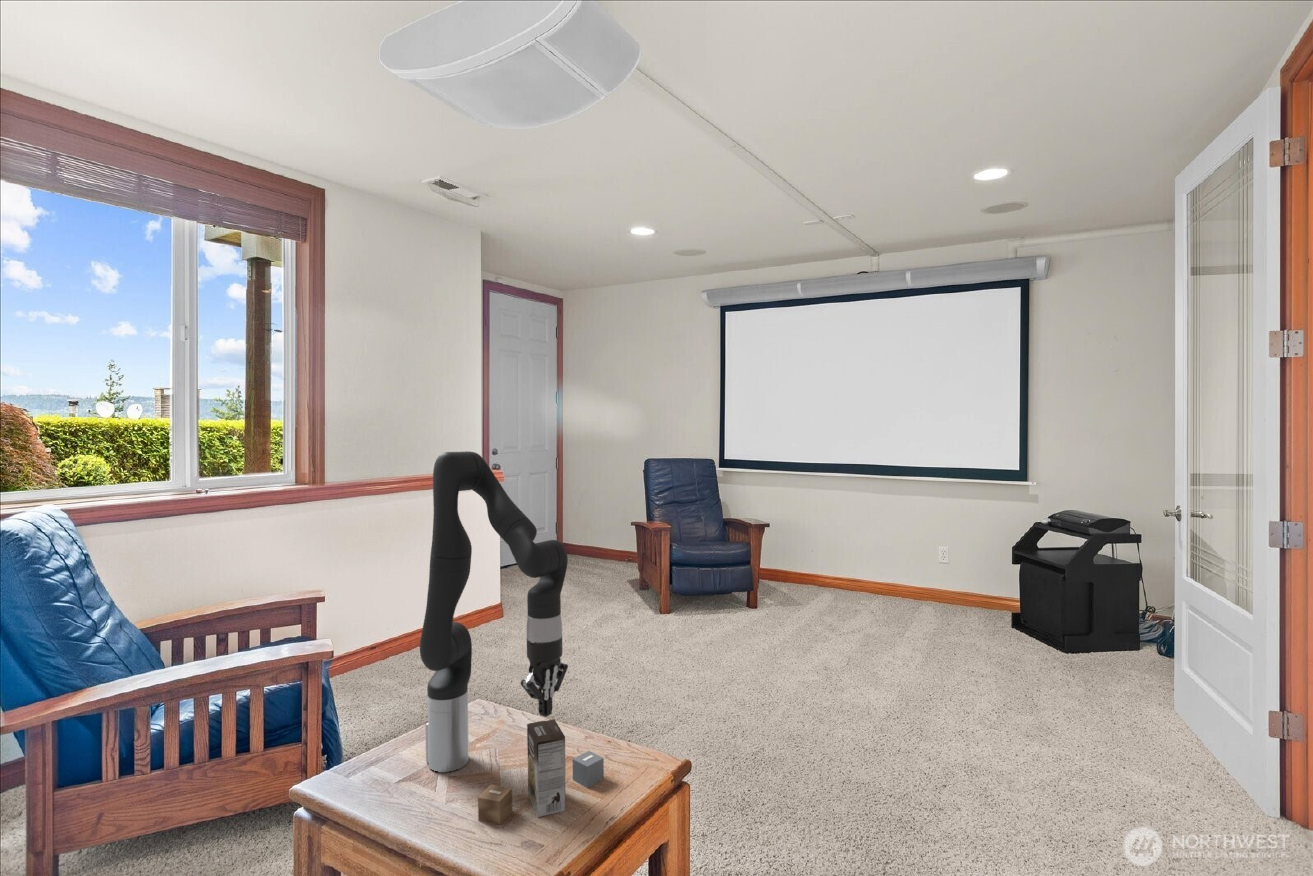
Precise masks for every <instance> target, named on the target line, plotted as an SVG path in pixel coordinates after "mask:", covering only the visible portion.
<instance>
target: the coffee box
mask: <svg viewBox="0 0 1313 876" xmlns="http://www.w3.org/2000/svg"><path fill="white" fill-rule="evenodd" d="M526 730H527V731H526V733H527V737H526V738H527V739H526V741H527V795H528V799H529V800H530V802H531V805H532V808H533V811H534V812H535V815H536V818H541V817H546V816H548V815H552V814H553V815H554V814H558V813H563V812H565V811H566V736H565V734H564V733H563V731H562V730H561V727H560V726H559V724H558V723H557V721H556V719H555V718H554V719H553V718H552V719H548V720H540V721H535V722H530V723H527V724H526Z"/></svg>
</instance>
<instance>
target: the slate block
mask: <svg viewBox="0 0 1313 876" xmlns="http://www.w3.org/2000/svg"><path fill="white" fill-rule="evenodd" d="M604 763H605V762H604V757H603V756H600V755H598V754H596V753H595V752H592V750H588V751H585V752H584V753H582V754H580V755H577V756H576V757H573V758H572V780H573V782H576V783H577V784H579V785H581V786H582V787H584V788H586V789H590V788H591V787H592V786H594V785H596V784H598V783H599V782H601V781H603V780H604V779H605V777H604V776H605V774H604V772H605V771H604V770H605V768H604V767H605V766H604Z"/></svg>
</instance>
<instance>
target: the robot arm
mask: <svg viewBox="0 0 1313 876" xmlns="http://www.w3.org/2000/svg"><path fill="white" fill-rule="evenodd" d="M433 465H434V466H433V471H432V496H433V498H432V499H433V500H432V501H433V505H432V506H433V517H432V518H433V520H432V521H433V523H432V538H431V549H430V557H429V558H430V559H429V572H428V573H429V575H428V579H429V580H428V585H427V586H428V587H427V596H426V597H427V598H426V607H425V613H424V618H423V625H422V629H421V630H422V631H421V635H420V640H419V642H420V643H419V654H420V659H421V662H422V664H423V665H424V666H425V668H427V669H428V670H430V671H433V672H434V673H433V675H432V676H431V678H430V679H429V680H428V683H427V688H426V689H427V694H426V695H427V722H426V723H425V725H424V726H425V728H424V729H425V763H426V762H428V763H429V764H428V763H427V764H428V768H429V767H430V768H429V769H430V770H431V769H432V770H434V771H433V772H435V771H438V772H437V773H450V772H449V771H451V772H454V770H455V771H457V770H456V769H458V770H460V769H462V768H464V767H465V766H466V765H467V764H468V763H469V760H470V758H469V757H470V756H469V754H470V753H469V750H470V749H469V694H468V693H469V691H468V689H469V687H468V686H469V682H470V679H471V676H472V675H471V674H472V654H473V653H472V652H473V648H472V646H473V645H472V643H473V642H472V638H471V634H470V631H469V630H468V628H467V627H466V626H465V625H464V624H463V623H462V622H461V623H460V622H457V621H454V616H455V612H456V608H457V606H458V603H459V601H460V598H461V597H462V594H463V592H464V590H465V587H466V585H467V582H468V580H469V578H470V573H471V566H472V565H471V564H472V554H473V553H472V551H473V550H472V549H473V547H472V542H471V540H470V537H469V535H468V532H467V530H466V529H465V527H464V525H463V523H462V522H461V519H460V516H459V509H458V508H459V507H458V506H459V492H464V491H465V492H467V491H473V492H474V493H476V494H478V495H479V496H480V497H481V498H482V499H483V500H484V503H485V505H486V510H487V517H488V521H489V523H490V525H491V527H492V528H493V530H494V531H495V532H496V533H497V534H498V536H500V538H501V539H502V541H504V542H505V544H507V546H508V547H509V550H510V552H511V554H512V556H513V558H514V560H515V563H516V564H517V567H518V569H519V570H520V571H521V572H522V573H523V574H524V575H526V576H527V577H529V578H533V579H536V578H539V580H538V582H537V583H536V584H534V585H533V586H532V587H531V588H530V589H528V592H527V595H526V596H527V599H526V600H527V601H526V602H527V604H526V605H527V616H526V617H527V618H526V619H527V620H526V657H527V659H528V661H529V667H528V675H527V676H526V679H521V681H520V686H521V687H522V688H523V689H524V691H525V692H526V693H527V694H528V695H529V697H530V698H531V699H535V700H537V701H538V714H539V715H540V716H543V717H545V718H547V717H549V716H550V715H552V714H553V697H554V696H555V693H556V692H559V691H560V689H561V686H562V683H563V680H564V678H565V675H566V672H567V670H568V668H569V665H568V663H564V662H562V661H561V658H562V656H563V622H562V614H561V613H562V611H561V609H562V607H561V605H562V603H561V602H562V601H561V600H562V599H561V593H562V590H563V586H564V582H565V578H566V573H567V568H568V551H567V550H566V547H565V546H564V544H563V543H562V542H561V541H559V540H557V539H550V540H545V541H540V542H534V540H535V538H536V537H537V533H538V531H537V530H538V529H537V528H536V525H535V524H534V523H533V521H531V520H530V518H529V517H528V516H527V515H526V514H525V513H524V512H523V511H522V510H521V509H520V508H519V507H518V506H517V504H516V503H515V502H514V501H513V500H512V499H511V498H510V496H509V495H508V493H507V492H506V491H505V489H504V487H503V486H502V485H501V482H499V480H498V478H497V477H496V476H495V474H494V472H493V471H492V469H491V467H490V466H489V465H488V463H487V462H486V460H485V459H484V458H483V457H482V456H481V454H479V453H478V452H475V451H446V452H443V453H442V452H441V453H440V454H439V455H438V456H437V458H436V459H435V462H434V464H433ZM467 762H468V763H467ZM432 770H431V771H432Z"/></svg>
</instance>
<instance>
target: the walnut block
mask: <svg viewBox="0 0 1313 876" xmlns="http://www.w3.org/2000/svg"><path fill="white" fill-rule="evenodd" d="M477 809H478V811H477V816H478V818H477V820H478V822H482V823H488V824H492V825H498V826H500V825H501V824H502V823H503V822H504V821H505V820H506V819H507V818H508V816H509V815H511V813H512V812H513V788H512V787H507V786H503V785H496V784H490V785H489V786H488V787H487V788H486V789H485V790H483V792H482V793H481V794H480V795H479V796H478V797H477Z"/></svg>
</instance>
